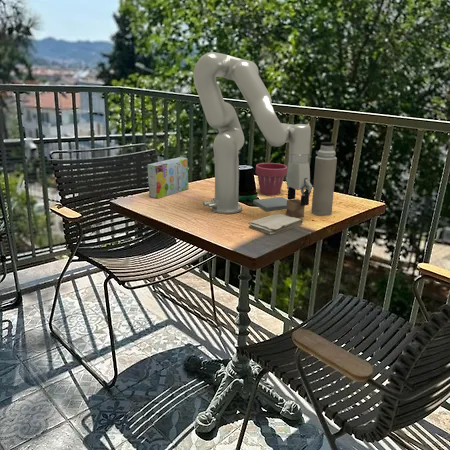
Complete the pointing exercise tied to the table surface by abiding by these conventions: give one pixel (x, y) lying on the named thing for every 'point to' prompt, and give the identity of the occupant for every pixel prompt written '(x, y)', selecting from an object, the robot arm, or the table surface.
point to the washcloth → (275, 223)
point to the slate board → (271, 203)
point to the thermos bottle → (324, 180)
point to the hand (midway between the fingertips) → (297, 202)
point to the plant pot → (270, 177)
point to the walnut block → (295, 208)
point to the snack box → (168, 177)
